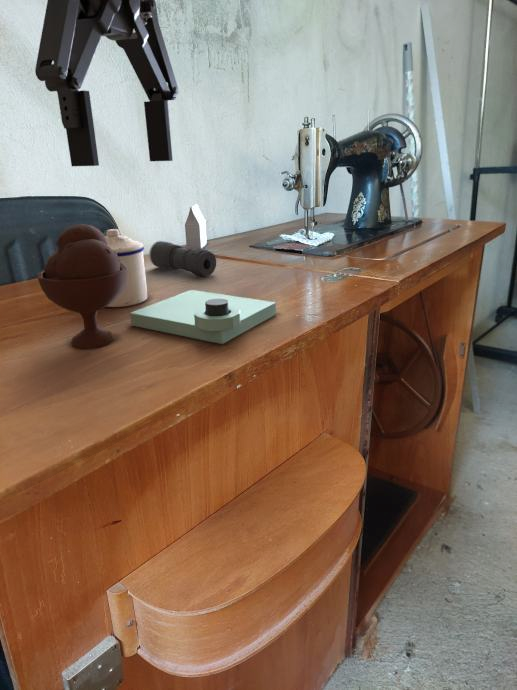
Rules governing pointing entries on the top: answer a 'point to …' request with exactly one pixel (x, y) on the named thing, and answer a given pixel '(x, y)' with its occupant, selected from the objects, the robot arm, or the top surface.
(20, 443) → the top surface
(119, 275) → the ice cream bowl
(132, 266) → the teacup with lid
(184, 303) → the scale
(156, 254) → the flashlight
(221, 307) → the tare button
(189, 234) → the white pointed block
